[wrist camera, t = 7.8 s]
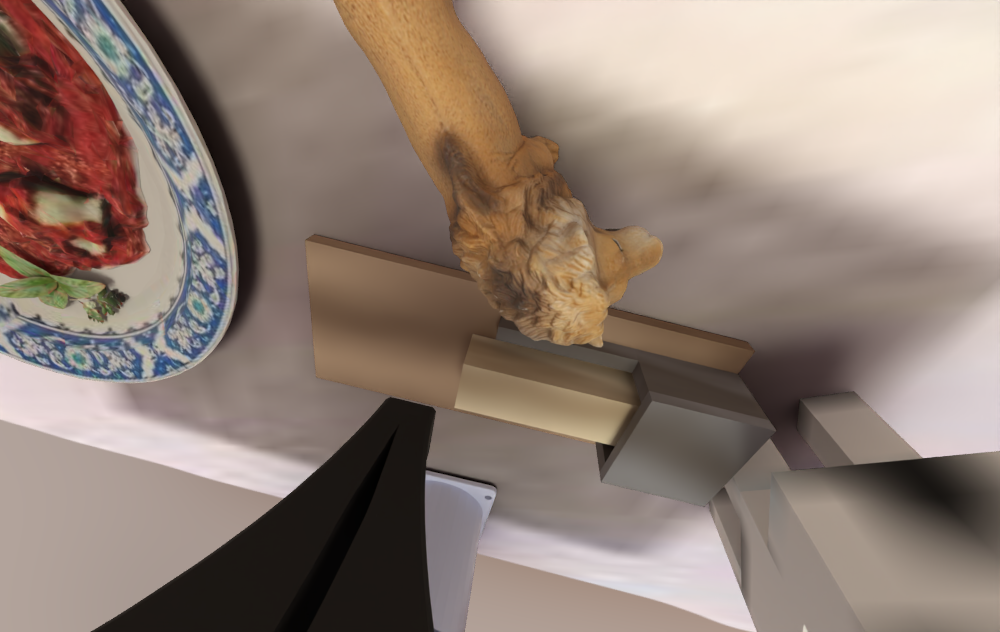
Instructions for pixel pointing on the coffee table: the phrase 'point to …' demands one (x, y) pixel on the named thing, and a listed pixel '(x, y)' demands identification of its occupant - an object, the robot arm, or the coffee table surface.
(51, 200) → the ceramic plate
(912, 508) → the toy llama
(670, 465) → the cradle
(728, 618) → the coffee table surface
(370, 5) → the lion figurine
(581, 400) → the slat
